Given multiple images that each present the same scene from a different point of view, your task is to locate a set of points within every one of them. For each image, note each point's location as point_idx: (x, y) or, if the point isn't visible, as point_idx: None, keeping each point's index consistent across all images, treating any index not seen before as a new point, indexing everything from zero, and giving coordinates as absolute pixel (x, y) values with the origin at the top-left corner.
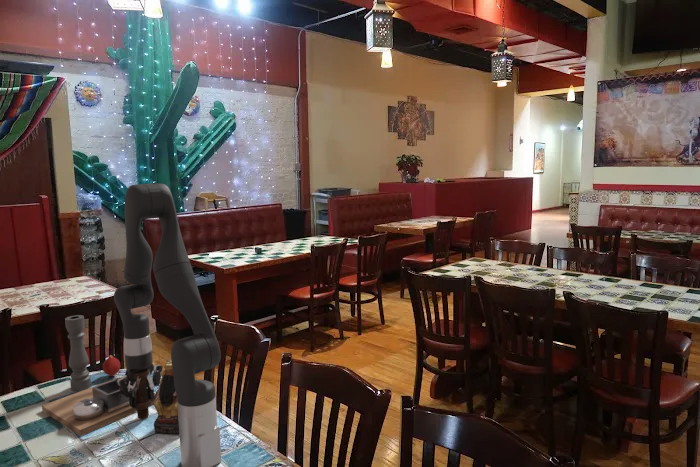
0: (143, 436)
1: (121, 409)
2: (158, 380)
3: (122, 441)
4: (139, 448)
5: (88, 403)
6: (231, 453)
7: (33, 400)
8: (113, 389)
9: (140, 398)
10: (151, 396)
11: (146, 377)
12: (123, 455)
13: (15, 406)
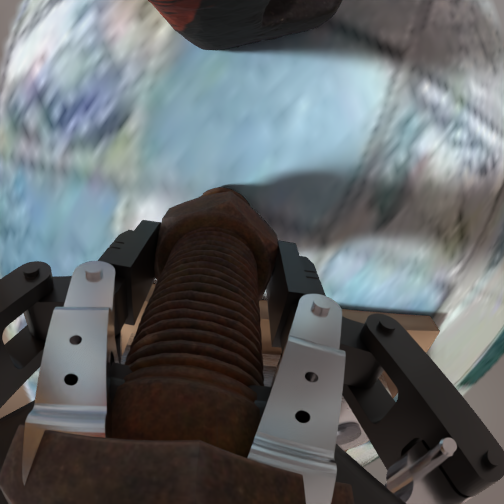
0: (370, 58)
1: None
2: (8, 289)
3: (435, 129)
4: (440, 18)
5: (357, 430)
6: None
7: None
8: None
9: (246, 264)
10: (142, 236)
11: (109, 415)
12: (488, 56)
13: None
